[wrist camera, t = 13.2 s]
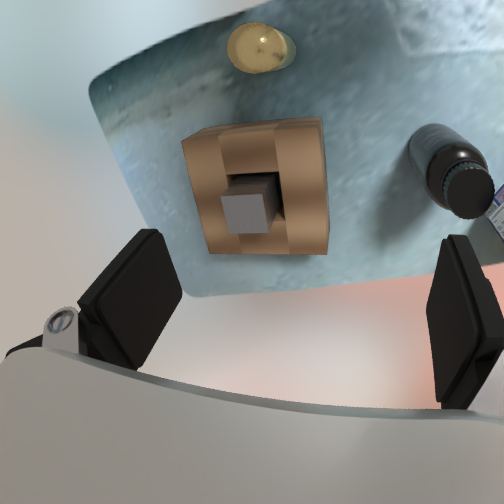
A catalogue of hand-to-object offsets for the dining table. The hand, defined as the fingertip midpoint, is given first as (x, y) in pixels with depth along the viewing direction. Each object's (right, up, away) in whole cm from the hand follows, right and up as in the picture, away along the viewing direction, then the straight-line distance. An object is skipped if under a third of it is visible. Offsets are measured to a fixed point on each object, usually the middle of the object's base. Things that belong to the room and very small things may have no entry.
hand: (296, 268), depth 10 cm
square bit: (0, +10, +28) cm, 29 cm away
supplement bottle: (+19, +12, +20) cm, 30 cm away
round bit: (+1, +22, +19) cm, 29 cm away
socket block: (0, +9, +28) cm, 29 cm away
